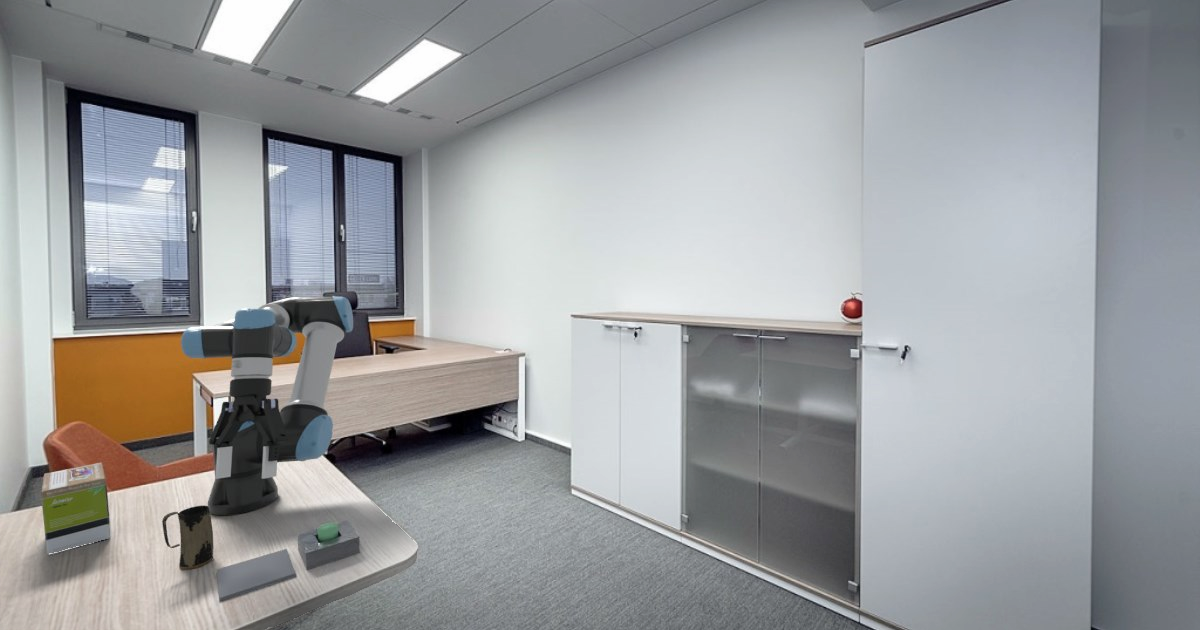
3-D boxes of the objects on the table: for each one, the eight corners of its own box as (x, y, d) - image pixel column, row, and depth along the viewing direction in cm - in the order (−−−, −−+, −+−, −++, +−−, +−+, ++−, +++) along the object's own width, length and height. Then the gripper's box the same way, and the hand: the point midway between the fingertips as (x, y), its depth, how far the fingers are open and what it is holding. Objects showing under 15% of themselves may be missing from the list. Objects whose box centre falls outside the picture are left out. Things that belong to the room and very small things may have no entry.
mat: (216, 572, 99) (216, 569, 99) (286, 551, 107) (286, 548, 106) (219, 601, 90) (219, 598, 90) (295, 576, 97) (295, 573, 97)
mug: (205, 552, 106) (202, 498, 106) (219, 558, 104) (216, 503, 103) (160, 571, 99) (156, 513, 99) (174, 578, 97) (170, 519, 96)
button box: (298, 549, 107) (297, 534, 107) (348, 534, 113) (347, 520, 113) (306, 570, 99) (305, 553, 99) (360, 552, 106) (359, 536, 106)
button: (316, 539, 106) (316, 526, 106) (336, 533, 109) (335, 520, 109) (320, 546, 104) (319, 532, 103) (340, 540, 106) (339, 526, 106)
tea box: (47, 533, 115) (43, 472, 114) (108, 518, 123) (104, 460, 122) (45, 557, 105) (40, 489, 104) (111, 539, 112) (107, 476, 112)
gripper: (193, 381, 109) (186, 480, 106) (277, 374, 102) (272, 480, 98) (228, 381, 116) (222, 474, 113) (309, 374, 109) (305, 474, 105)
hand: (245, 477), depth 106 cm, fingers open, 13 cm apart
